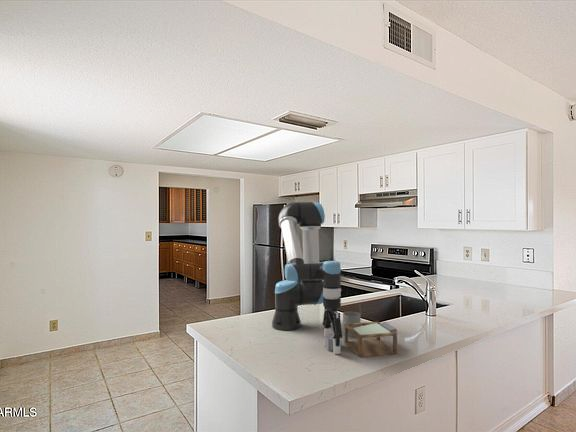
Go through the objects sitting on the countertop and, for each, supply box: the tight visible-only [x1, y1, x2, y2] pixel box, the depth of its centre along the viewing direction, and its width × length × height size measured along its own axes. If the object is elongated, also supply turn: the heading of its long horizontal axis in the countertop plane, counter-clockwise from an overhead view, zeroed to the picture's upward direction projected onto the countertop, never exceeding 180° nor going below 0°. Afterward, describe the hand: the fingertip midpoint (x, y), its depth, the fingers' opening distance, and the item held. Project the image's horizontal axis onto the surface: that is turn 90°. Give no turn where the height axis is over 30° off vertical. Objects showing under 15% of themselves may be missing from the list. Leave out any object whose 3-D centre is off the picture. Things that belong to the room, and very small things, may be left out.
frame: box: [344, 321, 398, 358], centre depth 152 cm, size 17×17×8 cm
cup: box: [342, 311, 362, 339], centre depth 169 cm, size 8×8×10 cm
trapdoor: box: [353, 321, 398, 341], centre depth 152 cm, size 16×13×2 cm
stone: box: [324, 334, 334, 352], centre depth 152 cm, size 5×5×5 cm
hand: (332, 348), depth 151 cm, fingers open, 11 cm apart
